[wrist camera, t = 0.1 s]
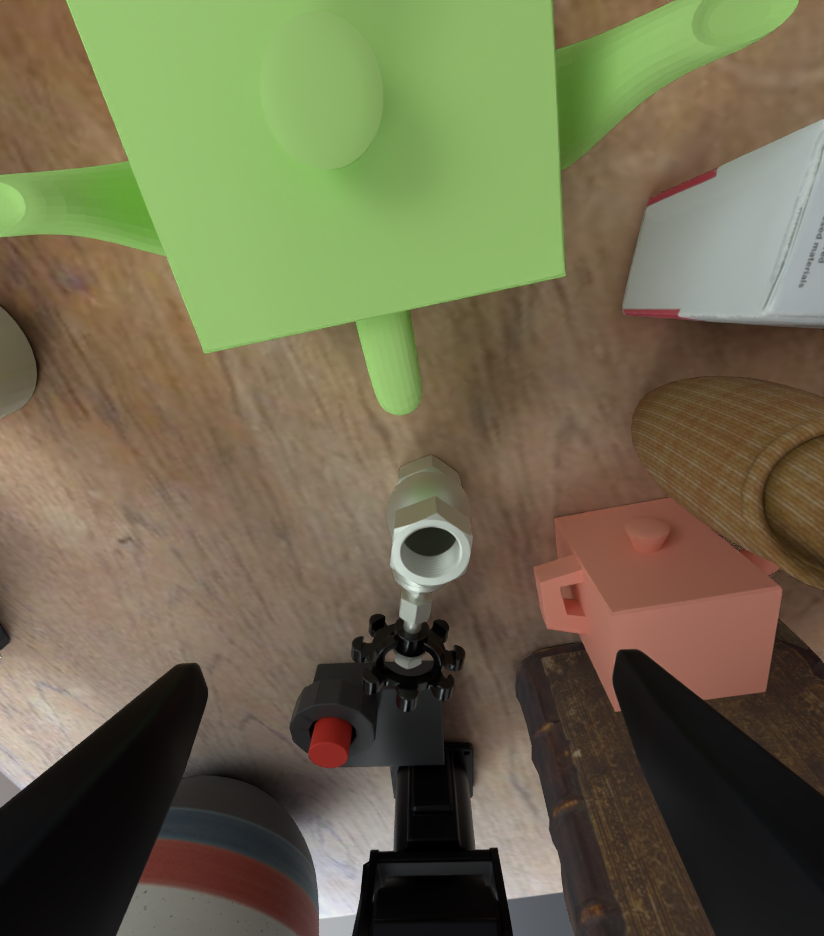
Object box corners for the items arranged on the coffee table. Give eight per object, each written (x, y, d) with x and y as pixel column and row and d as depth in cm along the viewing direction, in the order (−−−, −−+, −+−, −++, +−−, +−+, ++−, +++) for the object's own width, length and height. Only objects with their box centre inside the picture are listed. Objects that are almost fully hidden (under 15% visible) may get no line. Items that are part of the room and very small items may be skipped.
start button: (354, 739, 27) (350, 768, 25) (317, 740, 27) (311, 769, 25) (350, 714, 26) (345, 742, 24) (312, 715, 26) (305, 743, 24)
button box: (442, 735, 32) (446, 793, 28) (319, 738, 32) (306, 796, 29) (439, 647, 28) (442, 701, 25) (300, 652, 29) (283, 705, 25)
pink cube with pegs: (838, 697, 19) (878, 547, 16) (571, 732, 20) (557, 599, 17) (722, 584, 26) (733, 466, 23) (530, 614, 27) (515, 506, 24)
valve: (371, 444, 22) (358, 614, 27) (355, 501, 16) (341, 707, 21) (491, 457, 23) (457, 623, 27) (519, 518, 17) (469, 718, 21)
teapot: (612, 137, 17) (875, -61, 7) (442, 411, 22) (463, 514, 12) (263, -136, 14) (-82, -1085, 4) (155, 250, 19) (-124, 212, 9)
